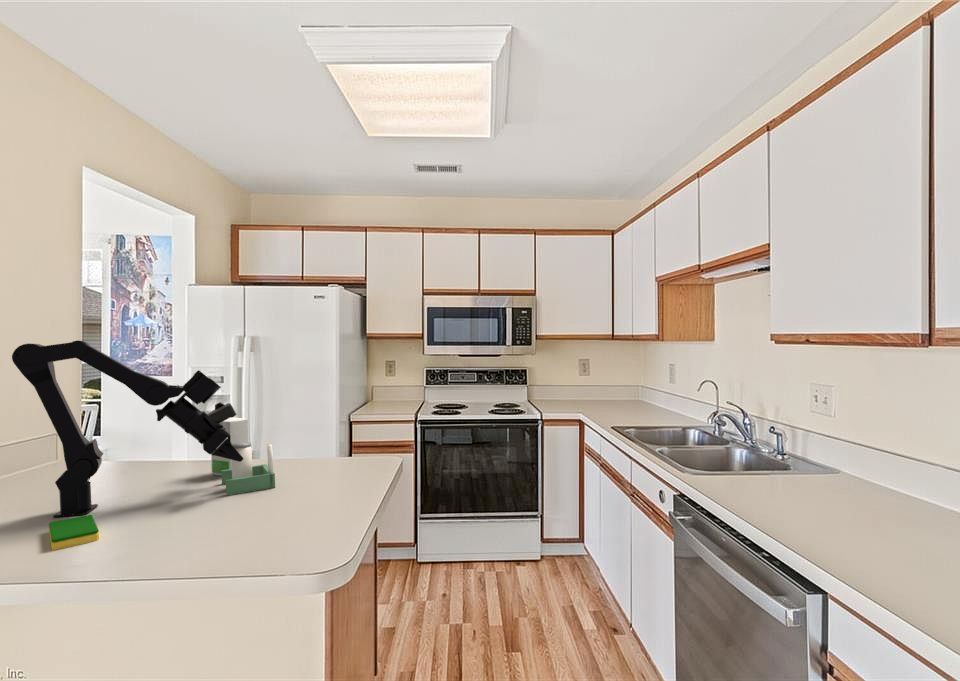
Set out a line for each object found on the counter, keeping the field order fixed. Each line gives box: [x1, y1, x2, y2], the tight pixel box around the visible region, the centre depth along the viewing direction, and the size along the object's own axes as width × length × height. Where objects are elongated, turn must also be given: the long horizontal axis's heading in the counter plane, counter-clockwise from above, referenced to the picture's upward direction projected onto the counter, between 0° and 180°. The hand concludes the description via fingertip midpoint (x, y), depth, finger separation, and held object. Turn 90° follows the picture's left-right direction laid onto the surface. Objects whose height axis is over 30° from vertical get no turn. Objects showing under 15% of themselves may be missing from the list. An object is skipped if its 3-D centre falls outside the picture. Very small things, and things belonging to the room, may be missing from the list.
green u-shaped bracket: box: [221, 443, 276, 496], centre depth 142 cm, size 11×13×10 cm
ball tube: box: [232, 441, 253, 479], centre depth 141 cm, size 5×5×11 cm
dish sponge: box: [48, 514, 100, 551], centre depth 108 cm, size 7×14×2 cm, turn 40°
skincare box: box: [210, 416, 249, 476], centre depth 156 cm, size 8×7×16 cm
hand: (239, 457), depth 141 cm, fingers open, 9 cm apart
